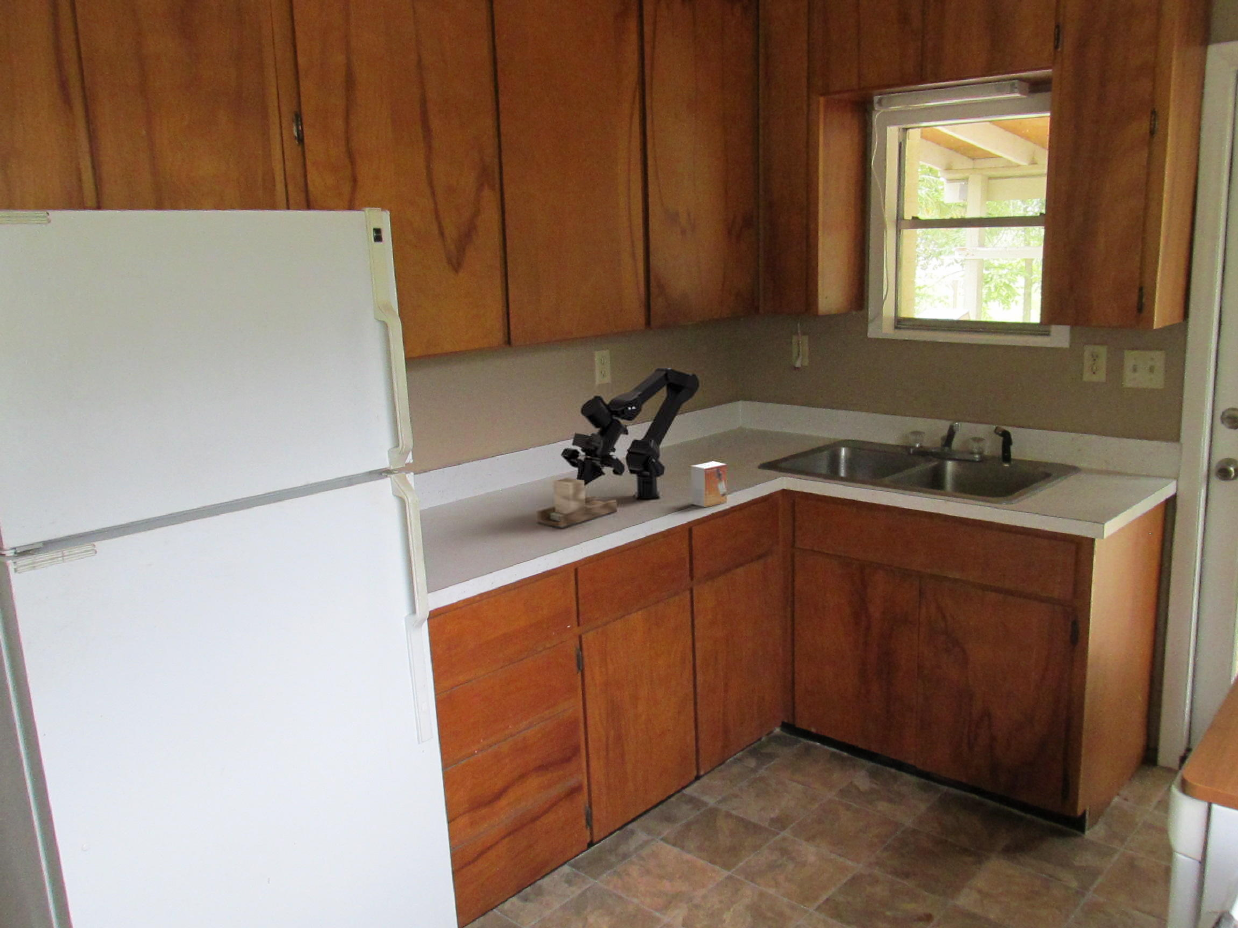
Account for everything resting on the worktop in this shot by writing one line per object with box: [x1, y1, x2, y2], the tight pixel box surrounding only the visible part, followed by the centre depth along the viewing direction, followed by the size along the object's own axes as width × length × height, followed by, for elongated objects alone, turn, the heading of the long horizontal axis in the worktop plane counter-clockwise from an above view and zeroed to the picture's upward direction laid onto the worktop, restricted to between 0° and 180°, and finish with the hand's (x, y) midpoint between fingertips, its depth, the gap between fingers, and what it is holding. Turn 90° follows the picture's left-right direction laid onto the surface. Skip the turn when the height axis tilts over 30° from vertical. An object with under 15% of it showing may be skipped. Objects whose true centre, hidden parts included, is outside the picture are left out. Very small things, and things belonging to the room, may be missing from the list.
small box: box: [690, 460, 728, 508], centre depth 274 cm, size 8×6×10 cm
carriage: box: [552, 477, 586, 514], centre depth 263 cm, size 5×6×8 cm
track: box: [536, 495, 618, 530], centre depth 266 cm, size 20×9×3 cm, turn 136°
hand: (577, 488), depth 264 cm, fingers closed, pressing on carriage
